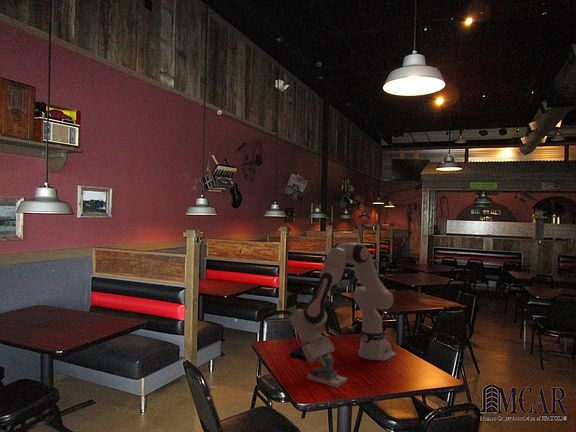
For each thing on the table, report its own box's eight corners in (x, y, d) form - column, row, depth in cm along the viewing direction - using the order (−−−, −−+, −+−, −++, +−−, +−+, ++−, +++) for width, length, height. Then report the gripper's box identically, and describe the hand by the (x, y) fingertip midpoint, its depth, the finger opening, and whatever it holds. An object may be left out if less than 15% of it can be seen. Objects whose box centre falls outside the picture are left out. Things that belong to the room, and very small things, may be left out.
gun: (324, 352, 239) (300, 348, 244) (324, 347, 240) (300, 343, 245) (313, 362, 217) (287, 358, 222) (313, 357, 217) (287, 353, 222)
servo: (320, 372, 193) (320, 354, 193) (323, 371, 195) (324, 353, 195) (330, 375, 189) (331, 357, 189) (334, 374, 192) (334, 356, 192)
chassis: (307, 378, 193) (307, 370, 193) (318, 372, 201) (318, 364, 201) (336, 387, 183) (336, 378, 183) (347, 381, 191) (347, 372, 191)
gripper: (303, 340, 188) (321, 366, 182) (326, 332, 205) (343, 355, 199) (295, 348, 191) (312, 374, 185) (319, 339, 207) (335, 362, 201)
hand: (328, 364), depth 192 cm, fingers closed on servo, 3 cm apart
